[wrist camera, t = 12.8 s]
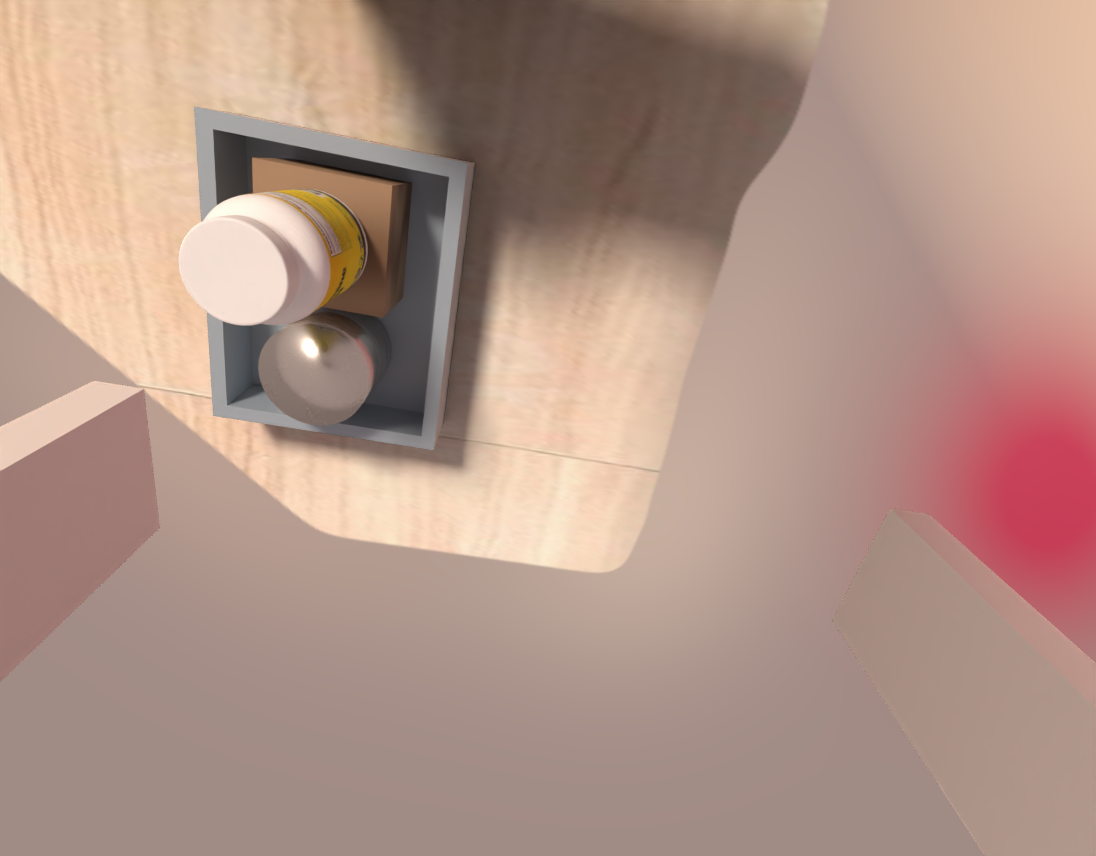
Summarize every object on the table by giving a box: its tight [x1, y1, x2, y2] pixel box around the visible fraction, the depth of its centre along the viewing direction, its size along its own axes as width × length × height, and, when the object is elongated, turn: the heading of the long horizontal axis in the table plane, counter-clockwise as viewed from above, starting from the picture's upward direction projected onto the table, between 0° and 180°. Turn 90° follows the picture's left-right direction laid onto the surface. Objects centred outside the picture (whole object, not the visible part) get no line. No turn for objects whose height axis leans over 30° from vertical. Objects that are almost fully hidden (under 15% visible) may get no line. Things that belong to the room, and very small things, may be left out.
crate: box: [194, 107, 475, 450], centre depth 40 cm, size 20×16×5 cm
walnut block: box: [252, 158, 412, 318], centre depth 37 cm, size 8×8×6 cm
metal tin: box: [258, 307, 392, 426], centre depth 41 cm, size 7×7×7 cm
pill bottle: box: [179, 189, 368, 326], centre depth 30 cm, size 6×6×11 cm
